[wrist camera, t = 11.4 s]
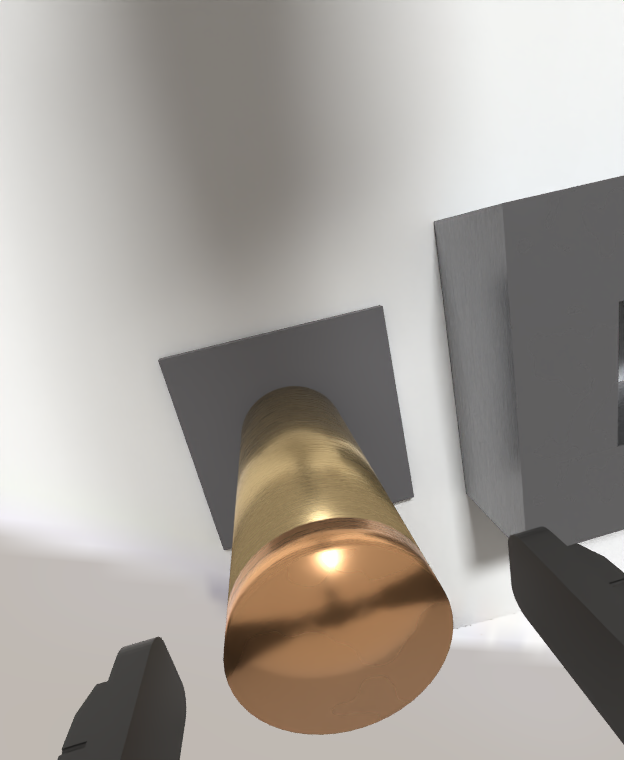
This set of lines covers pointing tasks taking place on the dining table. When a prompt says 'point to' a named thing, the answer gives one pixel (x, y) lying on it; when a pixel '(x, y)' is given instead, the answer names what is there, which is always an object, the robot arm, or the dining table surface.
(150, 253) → the dining table surface
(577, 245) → the housing
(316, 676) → the brass cylinder
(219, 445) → the mat
